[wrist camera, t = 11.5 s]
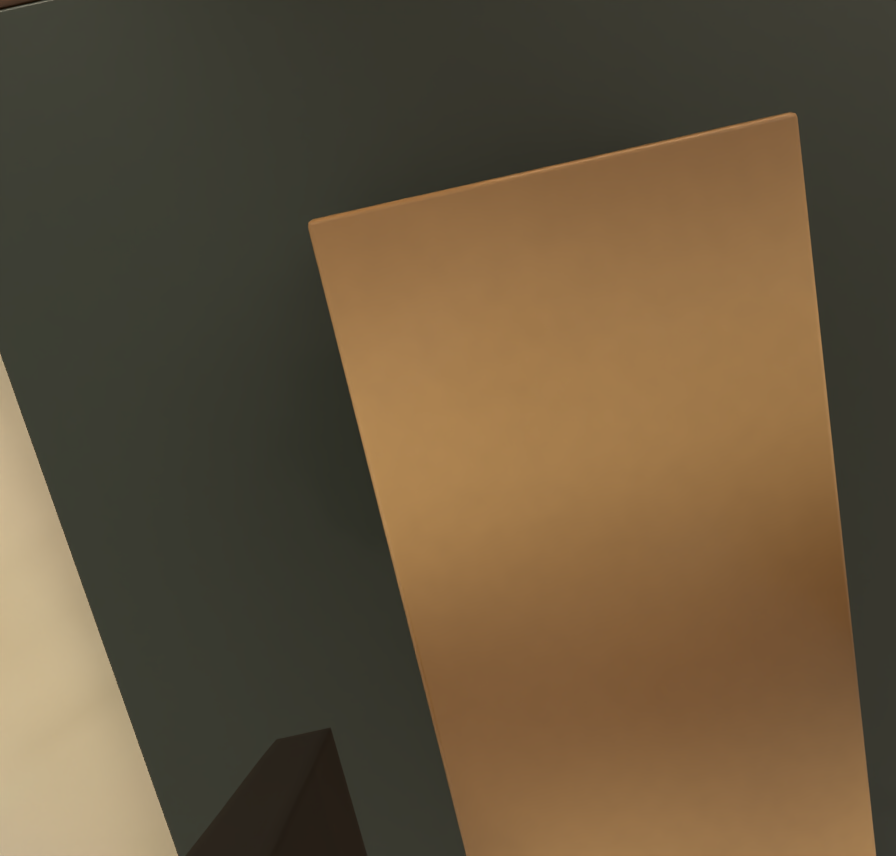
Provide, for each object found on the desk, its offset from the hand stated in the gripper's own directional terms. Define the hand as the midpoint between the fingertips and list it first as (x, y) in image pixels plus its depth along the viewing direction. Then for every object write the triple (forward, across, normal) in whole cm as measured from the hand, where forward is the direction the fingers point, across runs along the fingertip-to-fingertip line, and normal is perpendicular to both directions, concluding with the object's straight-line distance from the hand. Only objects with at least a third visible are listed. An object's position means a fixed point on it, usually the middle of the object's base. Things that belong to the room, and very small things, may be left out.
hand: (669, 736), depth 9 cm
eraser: (+5, 0, 0) cm, 5 cm away
